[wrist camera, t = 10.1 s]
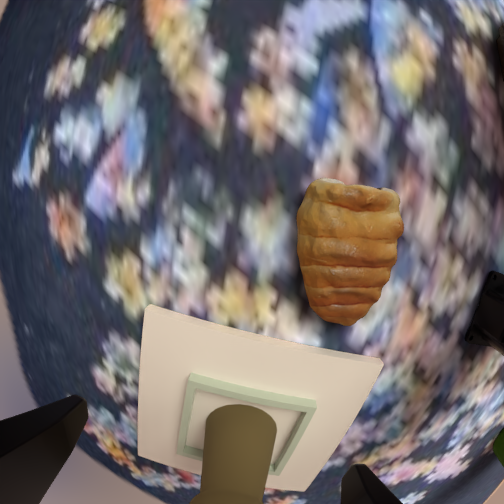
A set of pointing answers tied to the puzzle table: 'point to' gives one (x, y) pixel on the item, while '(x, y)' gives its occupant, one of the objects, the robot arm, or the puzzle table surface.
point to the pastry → (346, 246)
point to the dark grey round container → (501, 47)
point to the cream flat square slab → (245, 393)
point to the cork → (236, 455)
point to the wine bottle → (499, 447)
